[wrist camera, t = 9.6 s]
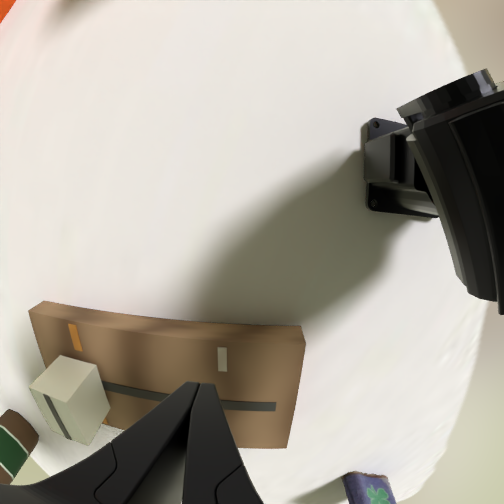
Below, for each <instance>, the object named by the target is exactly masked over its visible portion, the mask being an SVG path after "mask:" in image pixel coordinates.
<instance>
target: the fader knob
mask: <svg viewBox="0 0 504 504" xmlns="http://www.w3.org/2000/svg"><path fill="white" fill-rule="evenodd" d="M29 389H30V391H31V393H32V395H33V397H34V399H35V401H36V403H37V405H38V407H39V409H40V411H41V412H42V414H43V416H44V418H45V420H46V421H47V423H48V425H49V427H50V428H51V430H52V431H54V432H56V433H58V434H60V435H63V436H65V437H66V438H67V439H70V440H75V441H77V442H80V443H82V444H85V445H87V446H89V445H90V443H91V441H92V439H93V438H94V436H95V434H96V432H97V431H98V429H99V427H100V425H101V424H102V422H103V420H104V419H105V417H106V415H107V413H108V412H109V410H110V405H109V402H108V400H107V397H106V394H105V391H104V388H103V385H102V382H101V379H100V376H99V372H98V369H97V366H96V365H95V364H91V363H87V362H83V361H79V360H76V359H72V358H69V357H65V356H62V355H60V356H59V357H58V358H57V359H56V360H55V361H54V362H53V363H52V364H51V365H50V366H49V367H48V368H47V369H46V370H45V371H44V372H43V373H42V374H41V375H40V376H39V377H38V378H37V379H36V380H35V381H34V382H33V383H32V384H31V385H30V386H29Z"/></svg>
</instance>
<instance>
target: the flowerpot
mask: <svg viewBox="0 0 504 504" xmlns="http://www.w3.org/2000/svg"><path fill="white" fill-rule="evenodd" d="M15 1H16V0H0V23H1V22H2V20H3V19H4V17H5V16H6V14H7V13H8V12H9V10H10V9H11V7H12V6H13V4H14V3H15Z"/></svg>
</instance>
